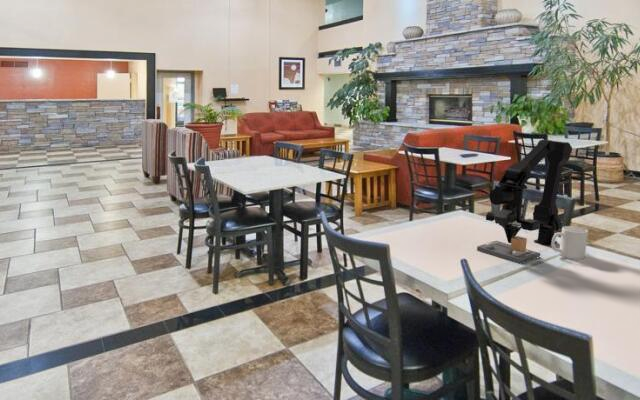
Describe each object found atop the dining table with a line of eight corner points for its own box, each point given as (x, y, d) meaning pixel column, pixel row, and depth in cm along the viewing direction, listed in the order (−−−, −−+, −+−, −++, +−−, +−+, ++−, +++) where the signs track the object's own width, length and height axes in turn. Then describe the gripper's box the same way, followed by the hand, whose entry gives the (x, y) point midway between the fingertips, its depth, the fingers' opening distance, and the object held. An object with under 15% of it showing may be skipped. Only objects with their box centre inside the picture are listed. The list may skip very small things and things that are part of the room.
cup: (589, 260, 174) (593, 232, 172) (555, 260, 174) (558, 232, 171) (576, 252, 182) (580, 226, 180) (544, 252, 182) (547, 225, 180)
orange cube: (516, 247, 181) (517, 235, 180) (525, 250, 179) (526, 238, 178) (510, 249, 179) (511, 237, 178) (519, 252, 176) (520, 240, 175)
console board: (496, 244, 191) (496, 236, 190) (539, 257, 177) (540, 249, 176) (476, 250, 184) (477, 242, 183) (521, 263, 170) (522, 255, 169)
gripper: (478, 199, 180) (474, 240, 184) (525, 210, 166) (520, 254, 169) (496, 196, 187) (492, 235, 190) (543, 205, 172) (538, 248, 176)
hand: (509, 242), depth 181 cm, fingers closed
